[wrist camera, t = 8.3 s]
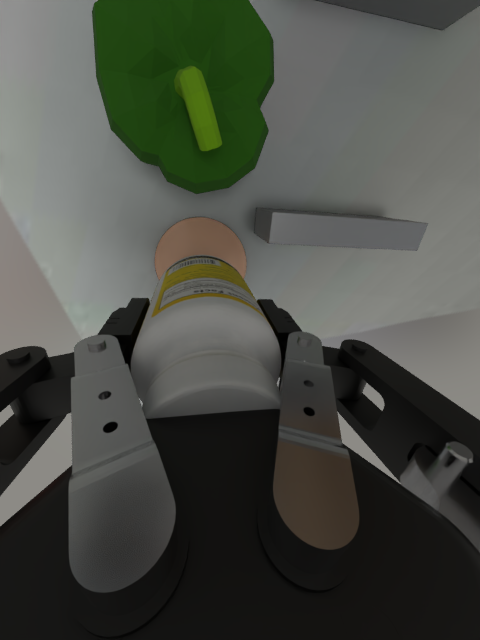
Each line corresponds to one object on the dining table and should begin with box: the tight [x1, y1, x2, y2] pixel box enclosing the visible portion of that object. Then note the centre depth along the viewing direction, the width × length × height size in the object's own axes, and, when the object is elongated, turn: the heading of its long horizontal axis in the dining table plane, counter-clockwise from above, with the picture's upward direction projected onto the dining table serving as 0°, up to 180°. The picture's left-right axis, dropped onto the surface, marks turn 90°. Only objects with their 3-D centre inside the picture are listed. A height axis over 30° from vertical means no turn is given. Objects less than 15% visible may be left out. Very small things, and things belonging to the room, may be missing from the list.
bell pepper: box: [92, 0, 274, 194], centre depth 13 cm, size 8×8×10 cm
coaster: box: [155, 217, 246, 280], centre depth 21 cm, size 8×8×1 cm
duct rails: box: [254, 0, 480, 251], centre depth 16 cm, size 12×16×5 cm
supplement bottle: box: [130, 255, 281, 419], centre depth 10 cm, size 5×5×10 cm
